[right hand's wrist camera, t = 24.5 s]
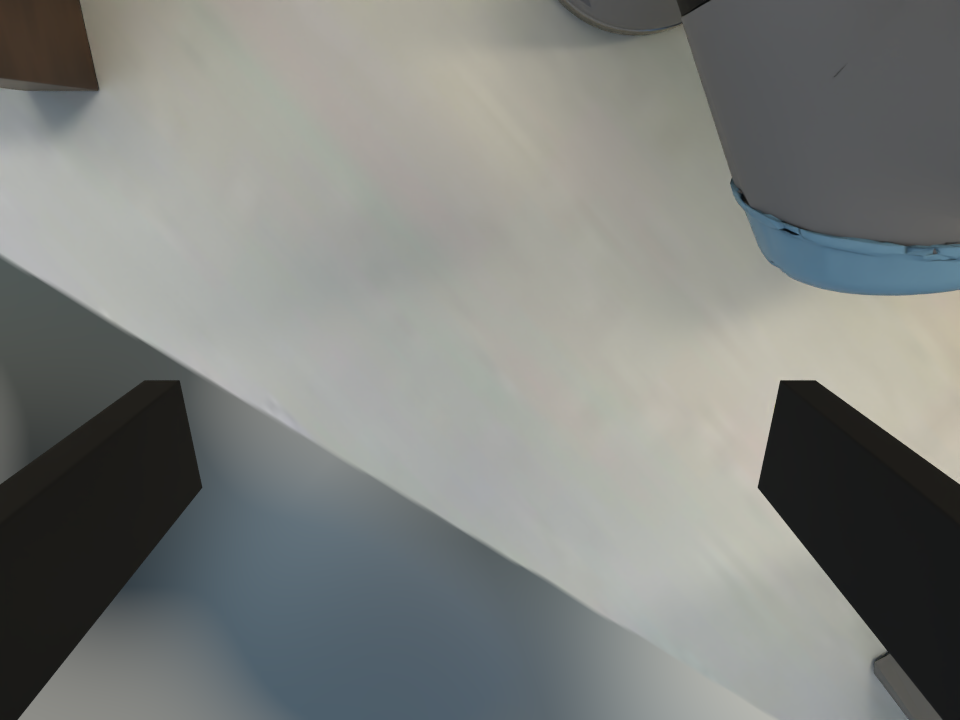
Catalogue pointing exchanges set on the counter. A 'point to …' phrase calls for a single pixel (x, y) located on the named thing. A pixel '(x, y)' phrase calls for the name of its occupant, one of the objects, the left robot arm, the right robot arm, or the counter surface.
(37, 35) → the walnut box
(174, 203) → the counter surface
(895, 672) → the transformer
